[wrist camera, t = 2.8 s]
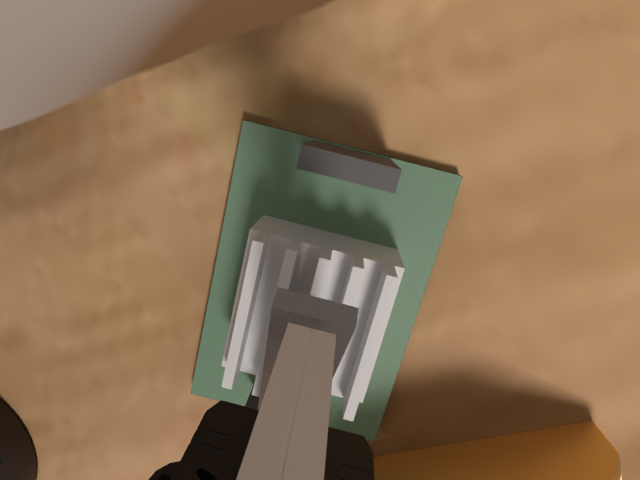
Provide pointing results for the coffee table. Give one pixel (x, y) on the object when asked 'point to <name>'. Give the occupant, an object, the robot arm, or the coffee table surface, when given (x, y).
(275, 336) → the strap
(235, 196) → the heatsink base
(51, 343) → the coffee table surface
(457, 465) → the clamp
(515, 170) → the coffee table surface
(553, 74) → the coffee table surface
